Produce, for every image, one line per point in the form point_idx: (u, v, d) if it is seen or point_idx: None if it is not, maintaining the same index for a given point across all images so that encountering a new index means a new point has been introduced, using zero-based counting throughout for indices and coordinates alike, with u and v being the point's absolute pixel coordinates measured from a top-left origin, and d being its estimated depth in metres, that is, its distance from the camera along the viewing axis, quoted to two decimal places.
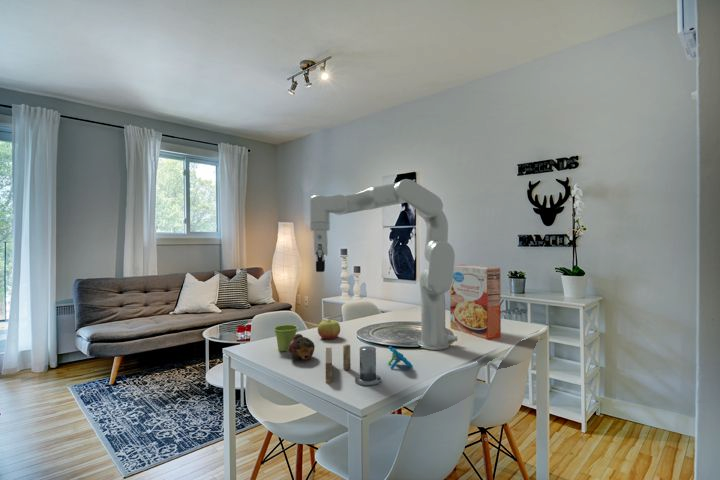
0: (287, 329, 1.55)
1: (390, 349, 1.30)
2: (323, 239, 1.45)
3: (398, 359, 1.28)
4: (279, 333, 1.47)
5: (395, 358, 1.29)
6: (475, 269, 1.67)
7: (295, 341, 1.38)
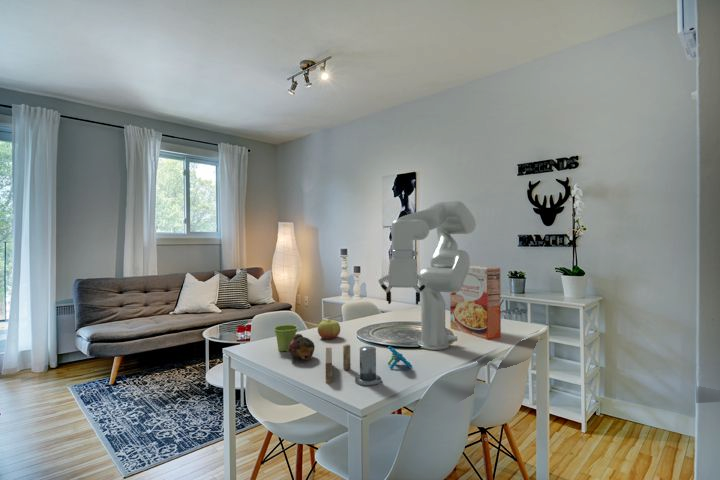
0: (287, 329, 1.55)
1: (388, 348, 1.30)
2: None
3: (397, 359, 1.28)
4: (279, 333, 1.47)
5: (394, 358, 1.29)
6: (475, 269, 1.67)
7: (295, 341, 1.38)
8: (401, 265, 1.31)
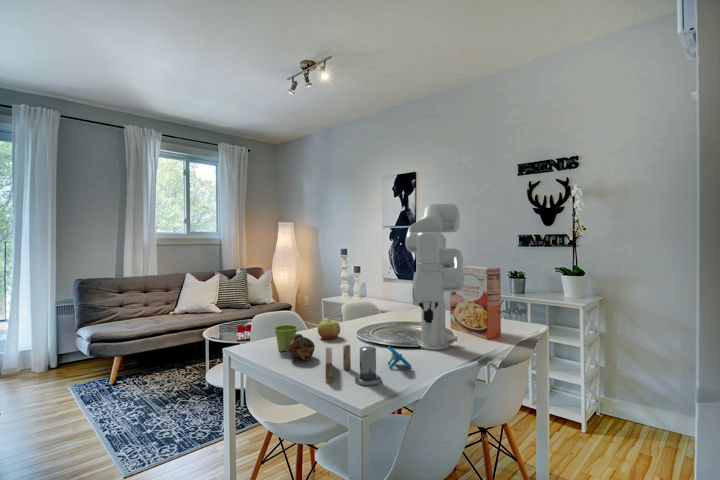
0: (287, 329, 1.55)
1: (389, 349, 1.30)
2: None
3: (397, 359, 1.28)
4: (279, 333, 1.47)
5: (394, 358, 1.29)
6: (475, 269, 1.67)
7: (295, 341, 1.38)
8: (429, 279, 1.27)
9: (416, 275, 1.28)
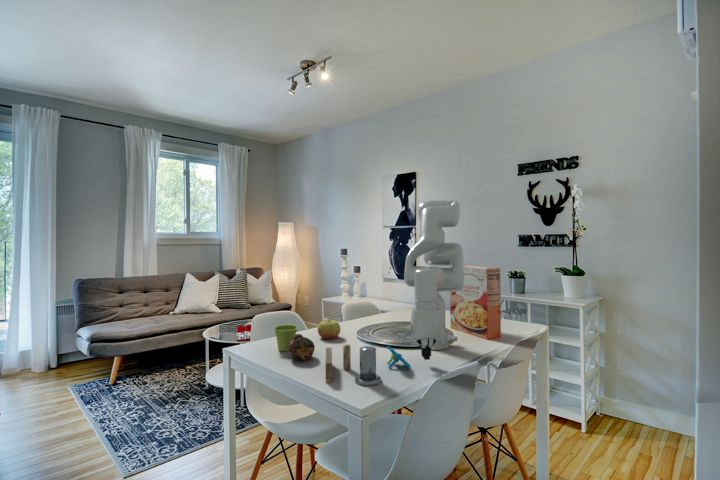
0: (287, 329, 1.55)
1: None
2: None
3: (396, 359, 1.28)
4: (279, 333, 1.47)
5: (393, 358, 1.29)
6: (475, 269, 1.67)
7: (295, 341, 1.38)
8: (427, 316, 1.27)
9: (414, 312, 1.28)
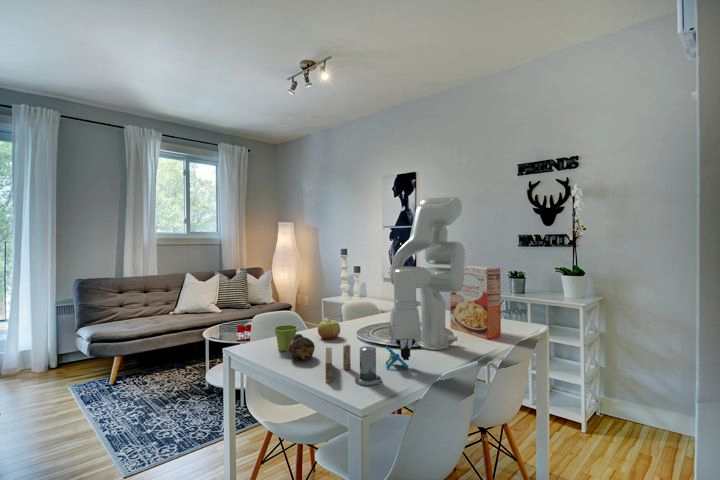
0: (287, 329, 1.55)
1: None
2: None
3: (394, 359, 1.28)
4: (279, 333, 1.47)
5: (391, 358, 1.29)
6: (475, 269, 1.67)
7: (295, 341, 1.38)
8: (406, 317, 1.27)
9: (393, 313, 1.28)
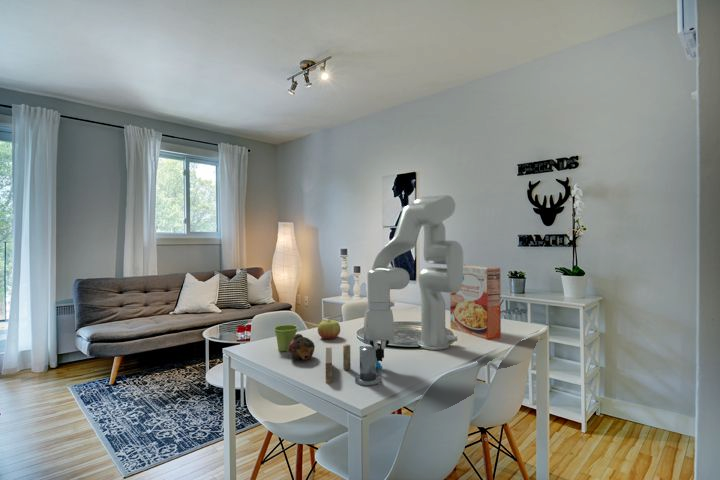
0: (287, 329, 1.55)
1: None
2: None
3: None
4: (279, 333, 1.47)
5: None
6: (475, 269, 1.67)
7: (295, 341, 1.38)
8: (379, 317, 1.26)
9: (366, 313, 1.27)
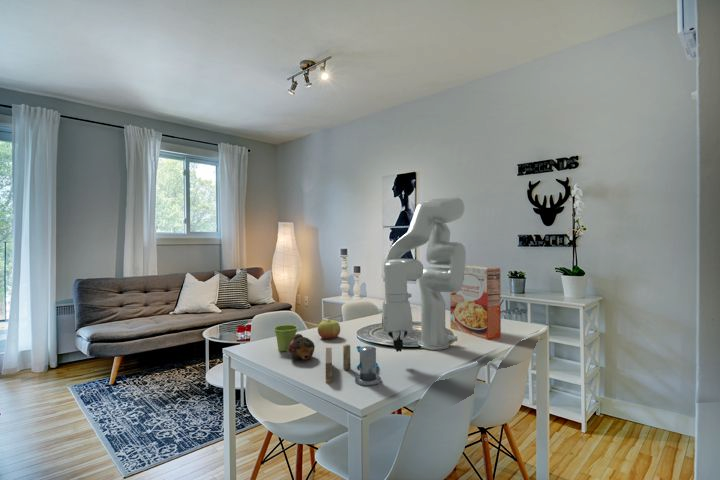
0: (287, 329, 1.55)
1: None
2: None
3: None
4: (279, 333, 1.47)
5: None
6: (475, 269, 1.67)
7: (295, 341, 1.38)
8: (397, 309, 1.28)
9: (384, 305, 1.29)
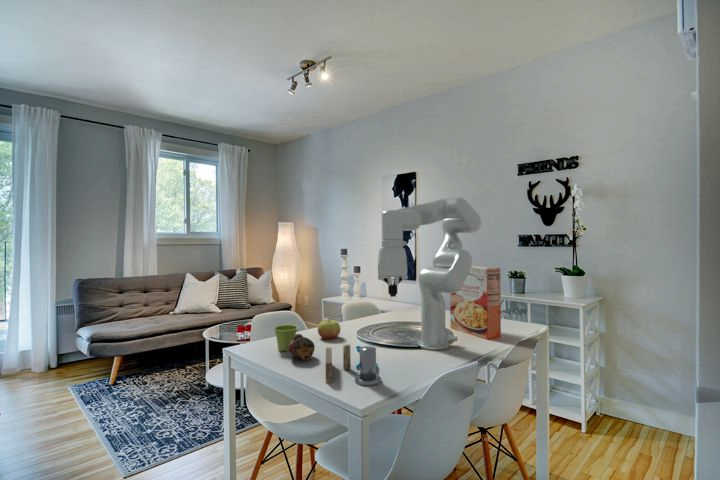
0: (287, 329, 1.55)
1: None
2: None
3: None
4: (279, 333, 1.47)
5: None
6: (475, 269, 1.67)
7: (295, 341, 1.38)
8: (393, 254, 1.33)
9: (381, 251, 1.34)
